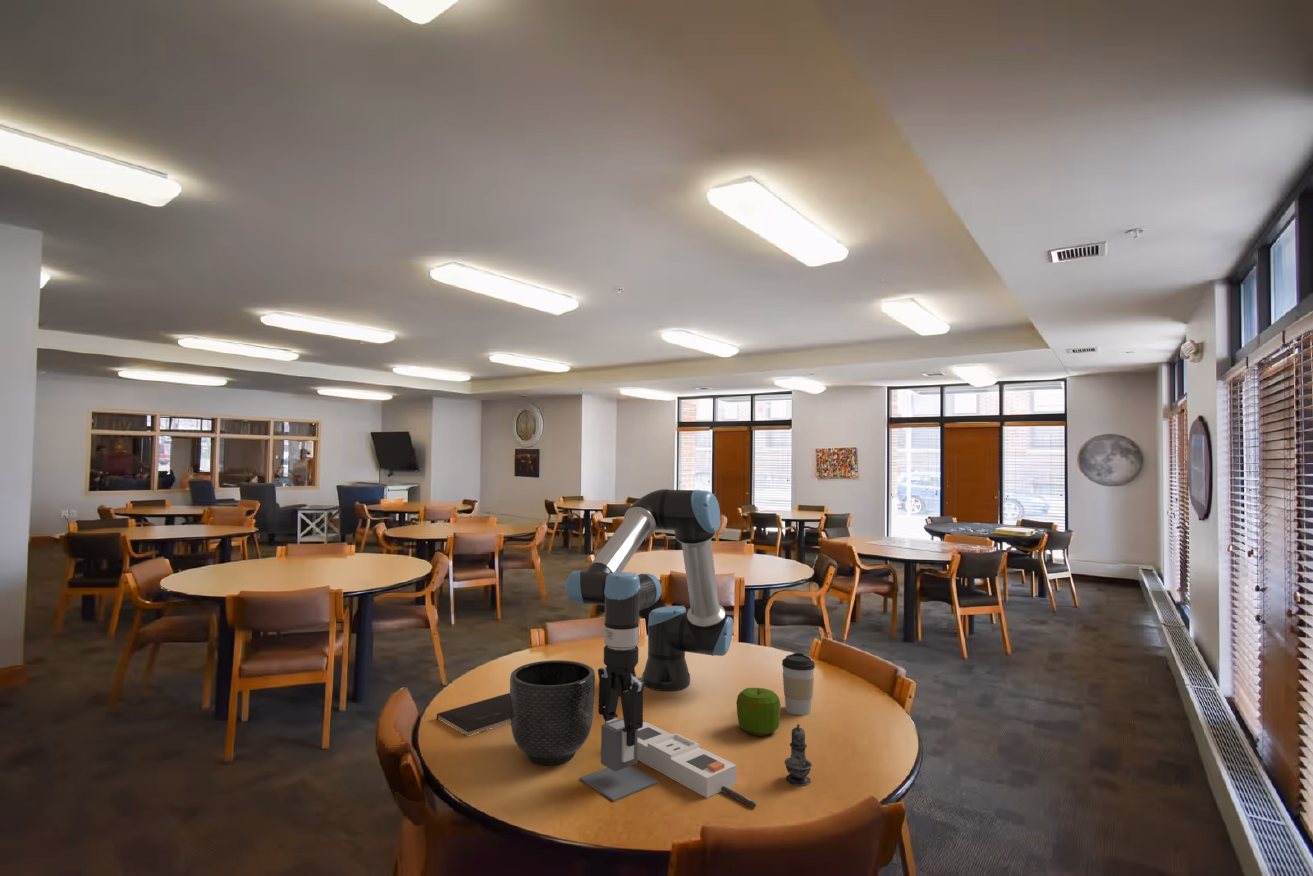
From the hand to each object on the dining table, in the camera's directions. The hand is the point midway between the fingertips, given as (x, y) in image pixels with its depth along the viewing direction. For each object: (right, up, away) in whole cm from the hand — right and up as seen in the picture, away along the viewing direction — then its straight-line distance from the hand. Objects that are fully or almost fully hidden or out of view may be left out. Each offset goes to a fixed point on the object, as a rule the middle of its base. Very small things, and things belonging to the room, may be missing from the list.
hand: (619, 755), depth 137 cm
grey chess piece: (+39, -6, +2) cm, 39 cm away
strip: (+15, -6, +4) cm, 16 cm away
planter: (-17, -6, +12) cm, 21 cm away
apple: (+34, -8, +28) cm, 45 cm away
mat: (0, -6, 0) cm, 6 cm away
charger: (0, -2, 0) cm, 2 cm away
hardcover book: (-37, -7, +34) cm, 51 cm away
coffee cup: (+48, -8, +41) cm, 64 cm away
